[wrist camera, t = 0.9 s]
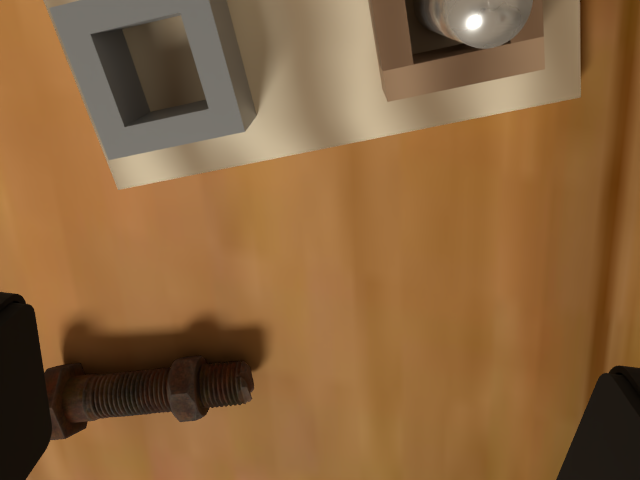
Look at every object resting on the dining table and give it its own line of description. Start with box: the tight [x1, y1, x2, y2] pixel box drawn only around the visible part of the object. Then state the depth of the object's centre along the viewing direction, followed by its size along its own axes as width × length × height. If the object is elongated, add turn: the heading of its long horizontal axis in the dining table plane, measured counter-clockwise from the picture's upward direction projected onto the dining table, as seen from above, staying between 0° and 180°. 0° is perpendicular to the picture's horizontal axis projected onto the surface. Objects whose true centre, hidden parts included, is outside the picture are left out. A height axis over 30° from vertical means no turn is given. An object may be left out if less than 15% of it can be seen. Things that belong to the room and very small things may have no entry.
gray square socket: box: [49, 0, 257, 160], centre depth 28 cm, size 8×8×4 cm
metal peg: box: [413, 0, 533, 49], centre depth 23 cm, size 3×3×10 cm
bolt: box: [44, 355, 254, 440], centre depth 39 cm, size 6×5×15 cm
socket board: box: [44, 0, 581, 190], centre depth 27 cm, size 28×13×6 cm, turn 102°
